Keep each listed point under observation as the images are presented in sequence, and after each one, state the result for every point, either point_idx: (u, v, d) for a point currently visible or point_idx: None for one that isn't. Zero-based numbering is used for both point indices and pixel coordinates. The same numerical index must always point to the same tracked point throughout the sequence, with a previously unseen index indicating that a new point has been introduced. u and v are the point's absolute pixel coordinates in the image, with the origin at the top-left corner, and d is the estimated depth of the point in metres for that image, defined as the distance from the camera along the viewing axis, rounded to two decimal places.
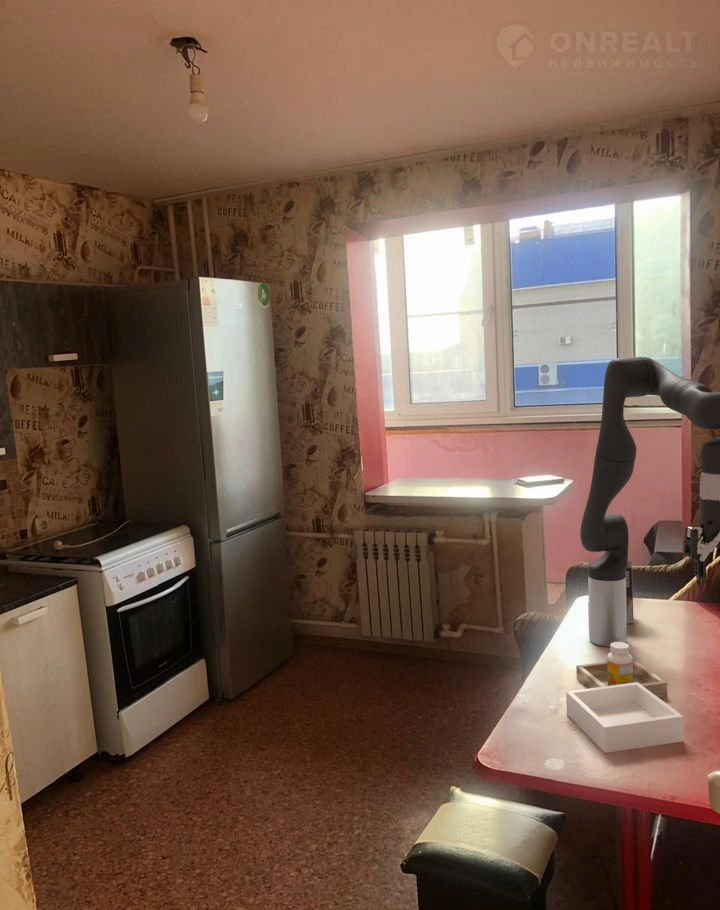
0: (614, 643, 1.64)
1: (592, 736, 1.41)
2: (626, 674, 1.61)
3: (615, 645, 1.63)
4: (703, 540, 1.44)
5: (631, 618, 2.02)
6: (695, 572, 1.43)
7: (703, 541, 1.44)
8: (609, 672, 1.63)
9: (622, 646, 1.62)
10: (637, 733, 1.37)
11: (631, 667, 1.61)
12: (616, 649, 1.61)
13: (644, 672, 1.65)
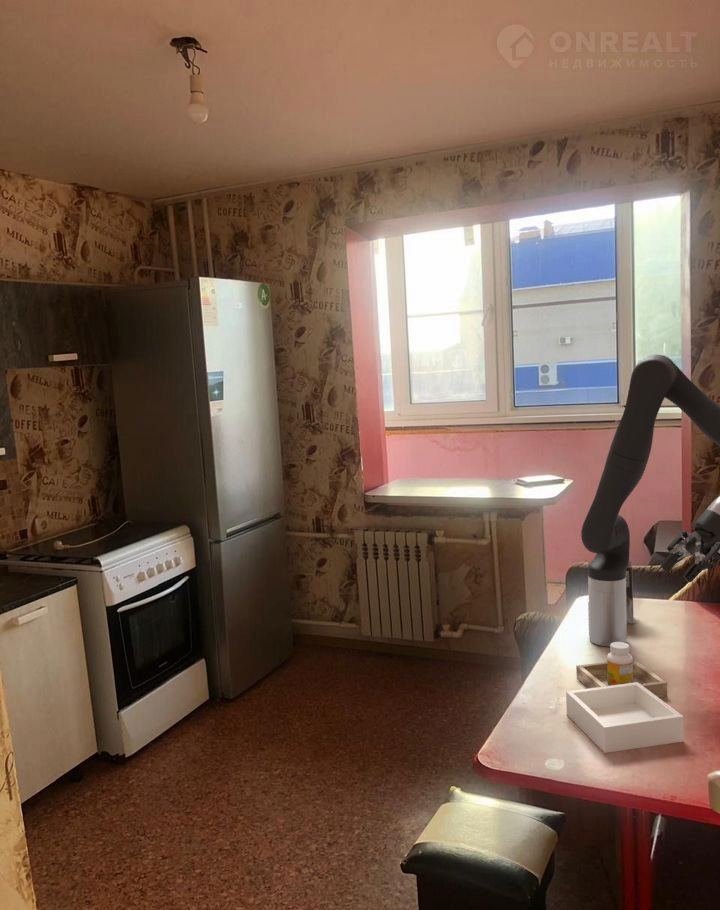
0: (614, 643, 1.64)
1: (592, 736, 1.41)
2: (626, 674, 1.61)
3: (615, 645, 1.63)
4: None
5: (631, 618, 2.02)
6: (691, 575, 1.58)
7: None
8: (609, 672, 1.63)
9: (622, 646, 1.62)
10: (637, 733, 1.37)
11: (631, 667, 1.61)
12: (616, 649, 1.61)
13: (644, 672, 1.65)
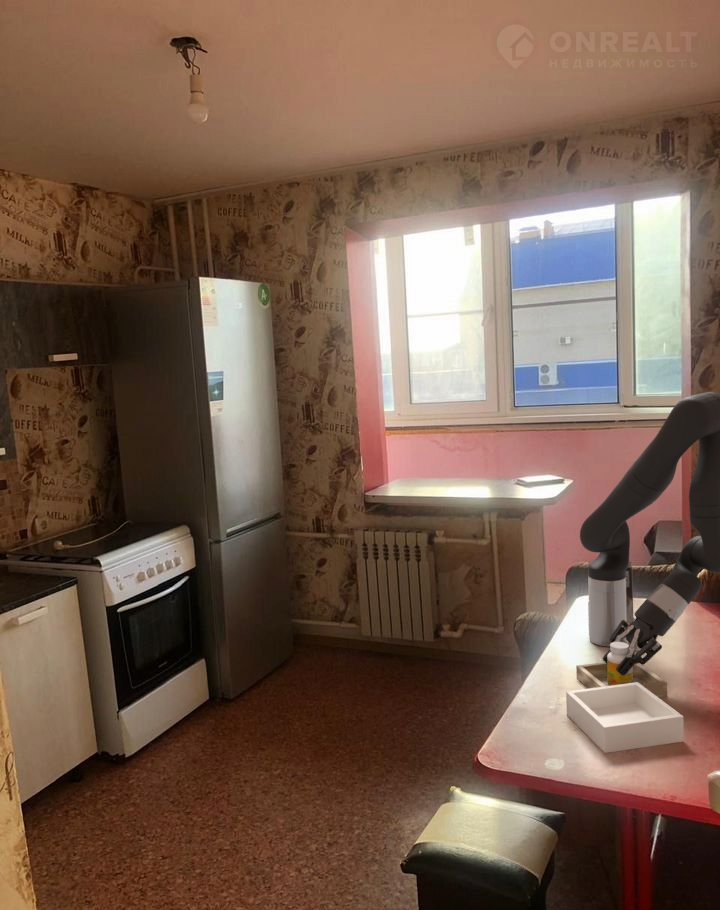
0: (614, 643, 1.64)
1: (592, 736, 1.41)
2: (626, 674, 1.61)
3: (615, 644, 1.63)
4: None
5: (631, 618, 2.02)
6: (624, 669, 1.59)
7: None
8: (609, 672, 1.63)
9: (622, 646, 1.62)
10: (637, 733, 1.37)
11: None
12: (616, 649, 1.61)
13: (644, 672, 1.65)
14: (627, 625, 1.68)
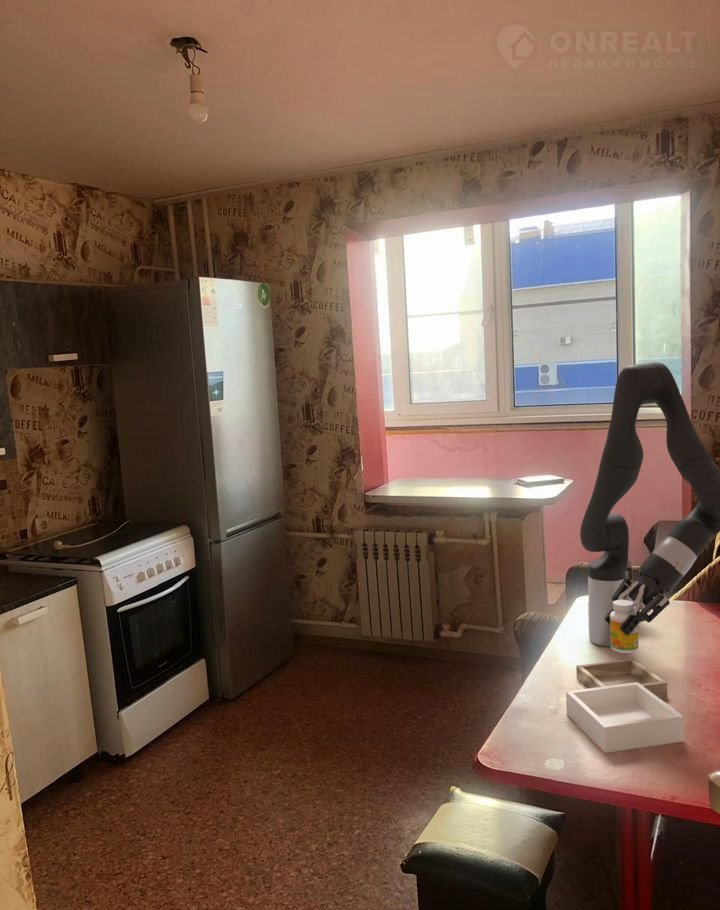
0: (617, 601, 1.50)
1: (592, 736, 1.41)
2: (630, 634, 1.47)
3: (618, 602, 1.49)
4: None
5: None
6: (628, 628, 1.45)
7: None
8: (612, 632, 1.49)
9: (626, 604, 1.48)
10: (637, 733, 1.37)
11: (636, 626, 1.48)
12: (619, 606, 1.48)
13: (644, 672, 1.65)
14: (631, 583, 1.55)
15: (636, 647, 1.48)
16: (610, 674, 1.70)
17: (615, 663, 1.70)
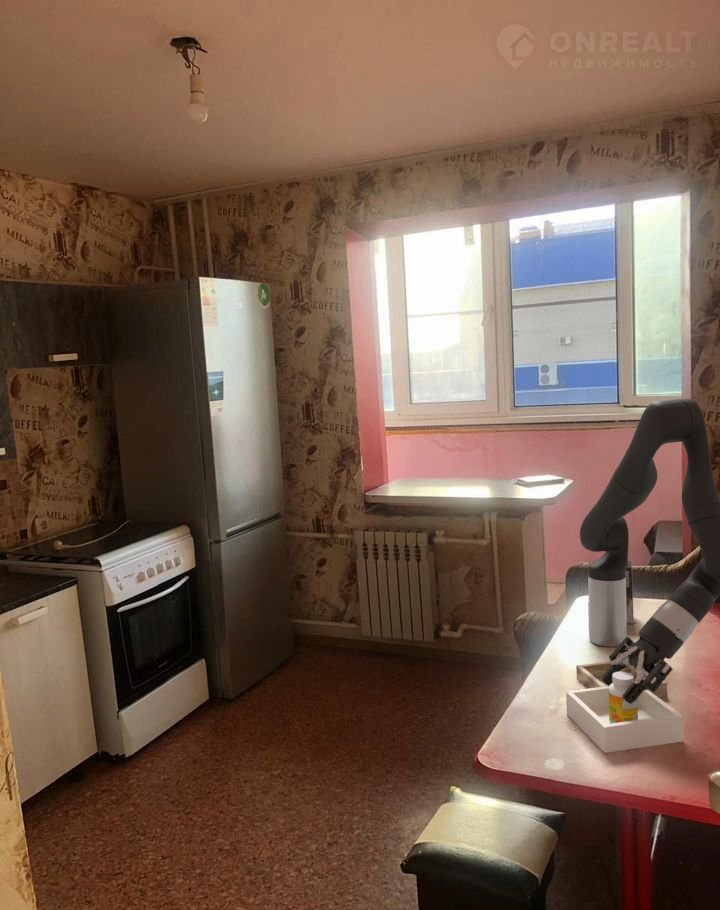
0: (617, 673, 1.46)
1: (592, 736, 1.41)
2: (630, 709, 1.43)
3: (617, 675, 1.45)
4: None
5: (631, 618, 2.02)
6: (631, 696, 1.40)
7: None
8: (611, 706, 1.45)
9: (626, 677, 1.43)
10: (637, 733, 1.37)
11: (636, 701, 1.43)
12: (618, 680, 1.43)
13: None
14: (631, 644, 1.50)
15: None
16: None
17: None
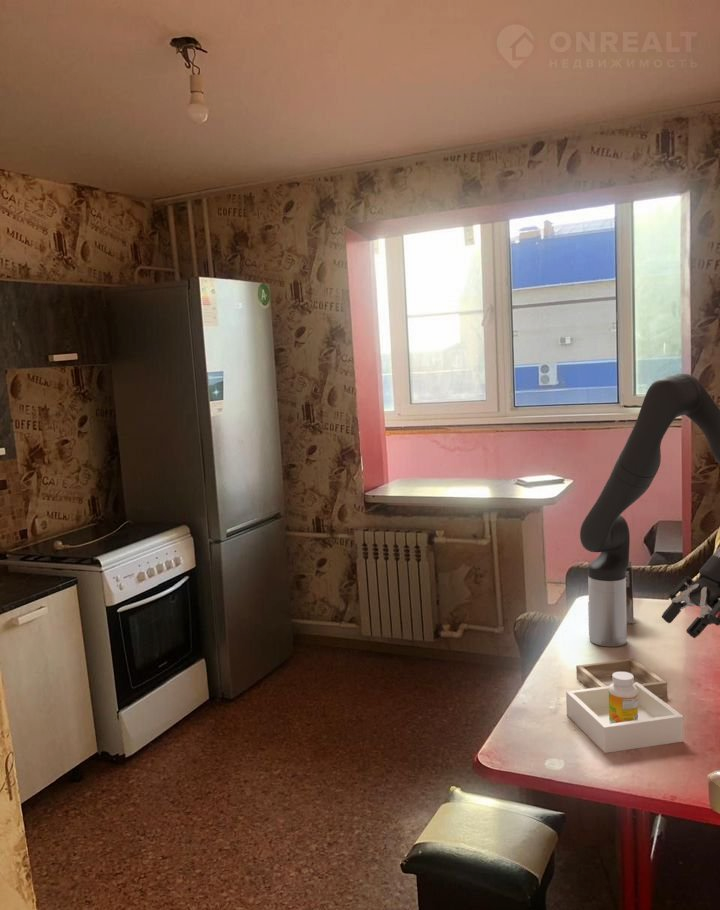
0: (617, 673, 1.46)
1: (592, 736, 1.41)
2: (630, 709, 1.43)
3: (617, 675, 1.45)
4: None
5: (631, 618, 2.02)
6: (696, 630, 1.42)
7: None
8: (611, 706, 1.45)
9: (626, 677, 1.43)
10: (637, 733, 1.37)
11: (636, 701, 1.43)
12: (618, 680, 1.43)
13: (644, 672, 1.65)
14: (691, 582, 1.52)
15: None
16: (610, 674, 1.70)
17: (615, 663, 1.70)
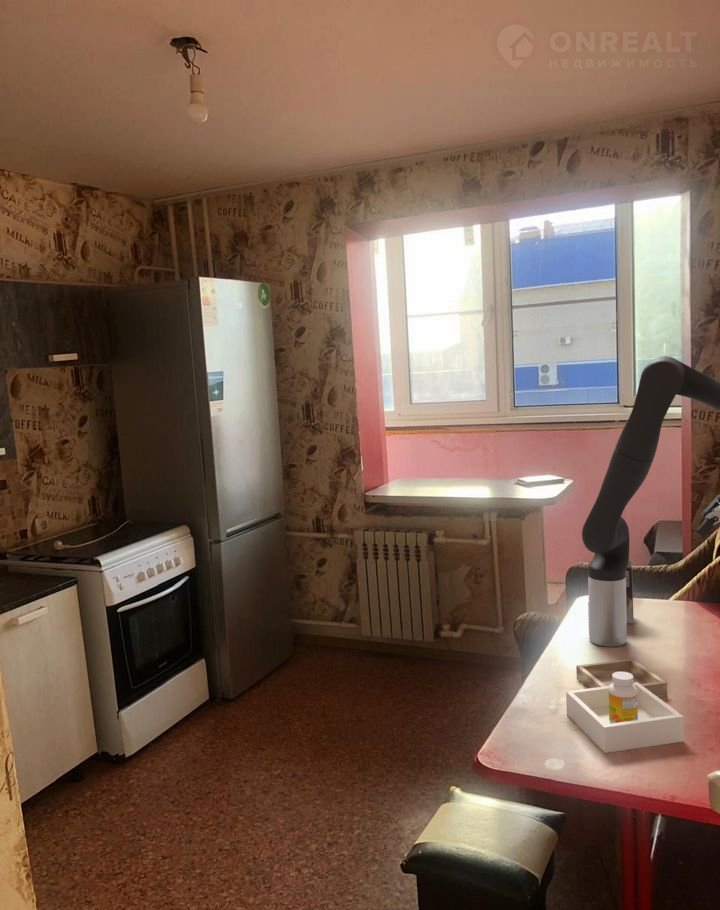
0: (616, 673, 1.46)
1: (592, 736, 1.41)
2: (630, 709, 1.43)
3: (617, 675, 1.45)
4: None
5: (631, 618, 2.02)
6: None
7: None
8: (611, 706, 1.45)
9: (626, 677, 1.44)
10: (637, 733, 1.37)
11: (636, 701, 1.43)
12: (618, 680, 1.43)
13: (644, 672, 1.65)
14: None
15: None
16: (610, 674, 1.70)
17: (615, 663, 1.70)
